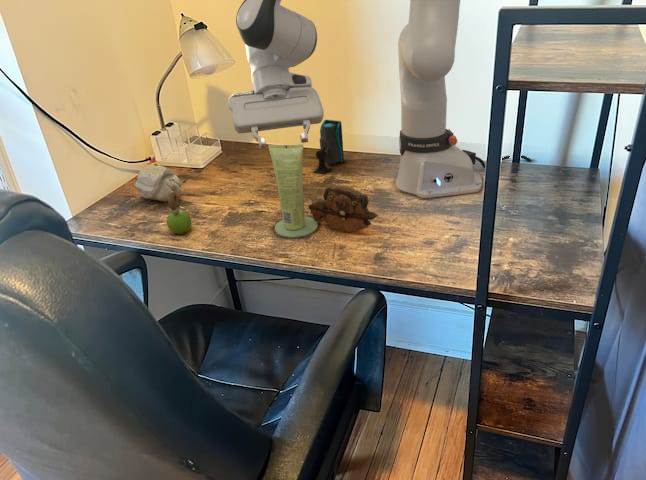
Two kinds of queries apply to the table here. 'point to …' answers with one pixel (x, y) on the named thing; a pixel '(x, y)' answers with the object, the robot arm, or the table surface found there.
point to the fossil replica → (156, 182)
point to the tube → (289, 183)
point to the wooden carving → (343, 209)
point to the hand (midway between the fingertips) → (284, 144)
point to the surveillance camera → (330, 145)
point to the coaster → (306, 230)
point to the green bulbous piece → (177, 213)
